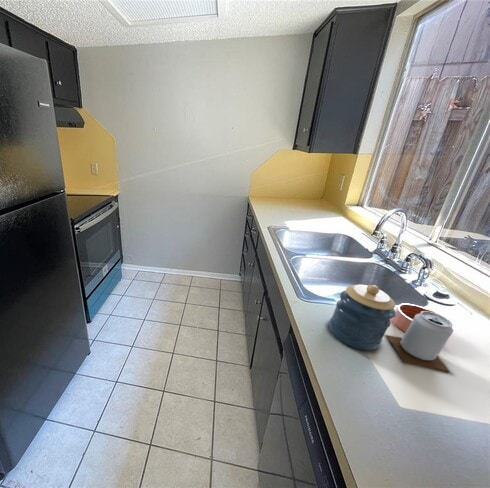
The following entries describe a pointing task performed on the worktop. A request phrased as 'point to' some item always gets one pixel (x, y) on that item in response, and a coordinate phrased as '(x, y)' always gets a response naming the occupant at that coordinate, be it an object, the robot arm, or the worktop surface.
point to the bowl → (407, 315)
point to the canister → (362, 316)
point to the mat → (413, 360)
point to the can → (426, 335)
